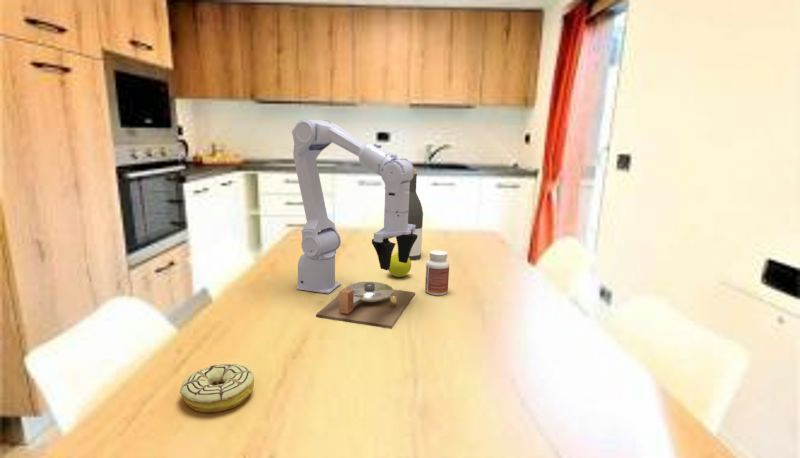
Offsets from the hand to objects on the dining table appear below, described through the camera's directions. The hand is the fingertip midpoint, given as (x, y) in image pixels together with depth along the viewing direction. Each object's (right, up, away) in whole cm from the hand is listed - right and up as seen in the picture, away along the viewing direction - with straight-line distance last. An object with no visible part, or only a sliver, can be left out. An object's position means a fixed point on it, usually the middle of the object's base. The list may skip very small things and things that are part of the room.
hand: (394, 265), depth 109 cm
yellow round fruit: (+1, -5, +24) cm, 24 cm away
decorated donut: (-27, -18, -38) cm, 50 cm away
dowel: (0, -10, -1) cm, 10 cm away
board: (-6, -10, +1) cm, 12 cm away
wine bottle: (+5, -1, +44) cm, 44 cm away
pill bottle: (+11, -8, +12) cm, 18 cm away
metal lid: (-8, -9, +1) cm, 12 cm away
